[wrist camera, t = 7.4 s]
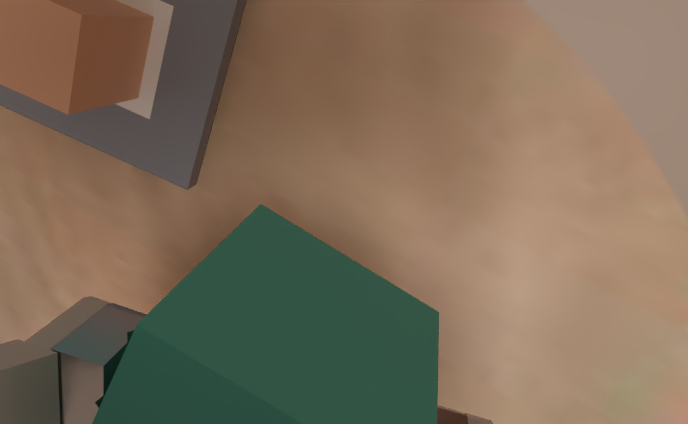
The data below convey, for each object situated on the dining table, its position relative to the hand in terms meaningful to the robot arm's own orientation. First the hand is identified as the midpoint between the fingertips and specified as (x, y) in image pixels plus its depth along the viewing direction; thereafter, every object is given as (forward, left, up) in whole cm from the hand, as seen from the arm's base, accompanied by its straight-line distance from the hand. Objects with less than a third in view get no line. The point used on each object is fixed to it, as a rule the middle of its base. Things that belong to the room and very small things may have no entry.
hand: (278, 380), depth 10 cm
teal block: (0, 0, -2) cm, 2 cm away
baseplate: (-1, +18, -21) cm, 27 cm away
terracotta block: (-1, +18, -20) cm, 27 cm away
